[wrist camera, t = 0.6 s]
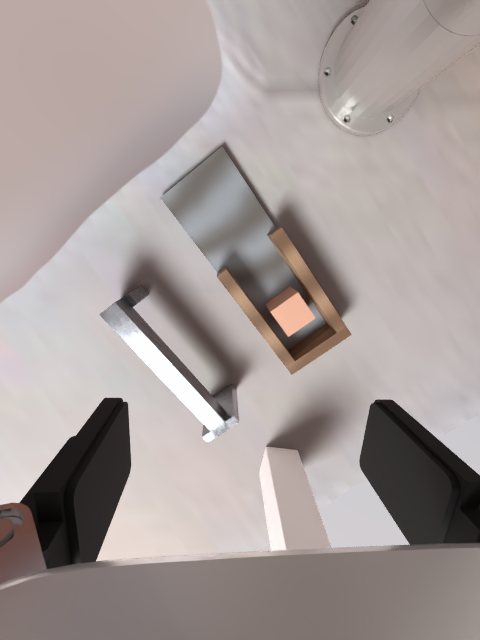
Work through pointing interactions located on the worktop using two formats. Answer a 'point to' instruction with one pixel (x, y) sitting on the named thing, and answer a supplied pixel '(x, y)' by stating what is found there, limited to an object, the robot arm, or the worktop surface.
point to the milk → (289, 503)
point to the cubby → (253, 258)
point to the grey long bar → (172, 367)
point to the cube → (290, 311)
